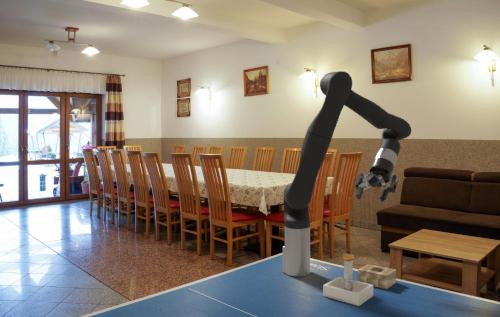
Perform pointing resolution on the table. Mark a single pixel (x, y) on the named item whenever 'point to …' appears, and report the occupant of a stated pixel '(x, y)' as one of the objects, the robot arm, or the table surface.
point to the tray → (356, 297)
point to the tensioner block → (377, 276)
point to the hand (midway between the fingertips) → (369, 199)
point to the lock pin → (348, 271)
